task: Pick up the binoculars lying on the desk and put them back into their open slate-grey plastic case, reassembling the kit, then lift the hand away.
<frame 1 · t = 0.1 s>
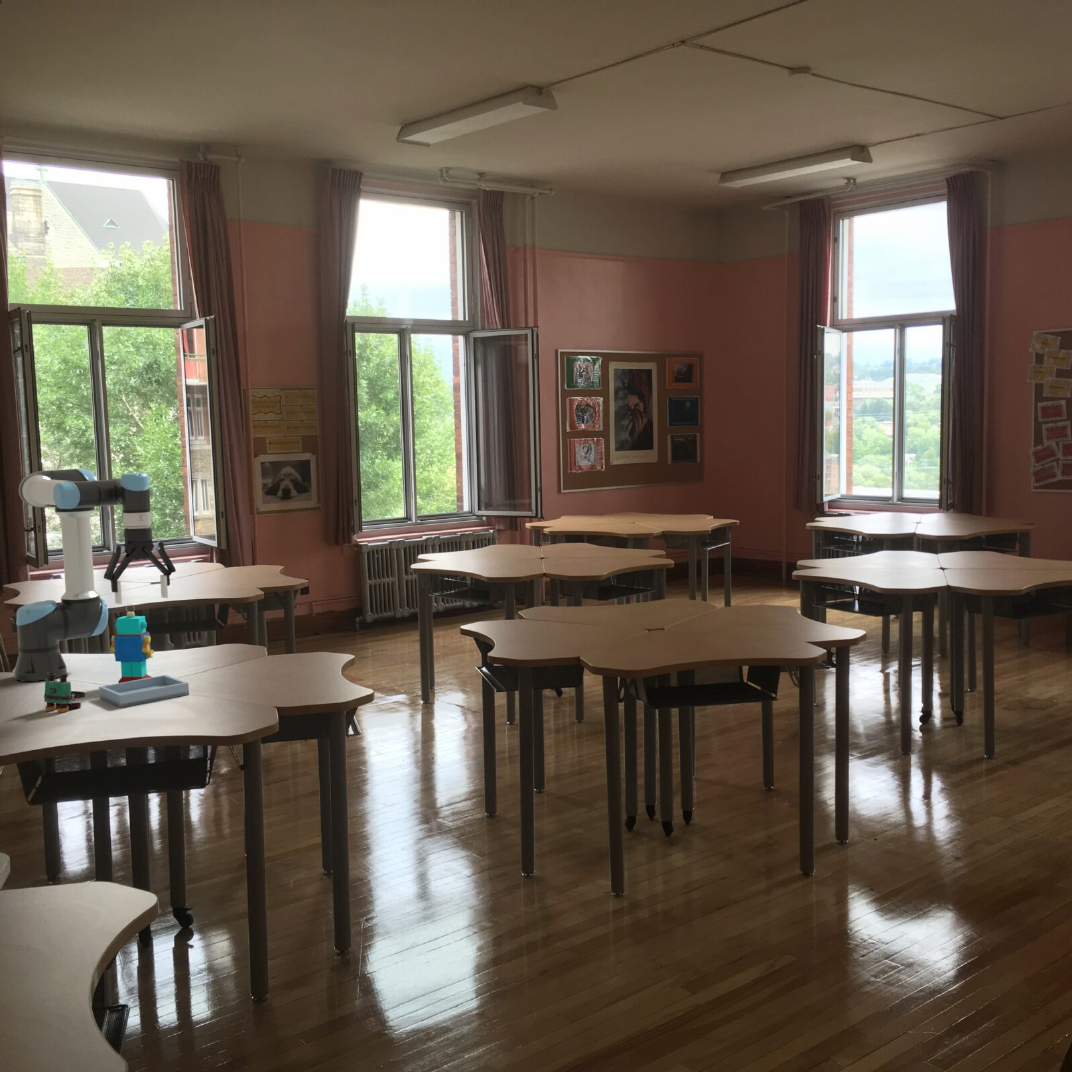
hand: (141, 600, 312), 28 cm above the table, tool pointing down, fingers open, 13 cm apart
binocular case: (144, 696, 314), on the table
toy robot: (135, 685, 328), on the table
binoculars: (65, 709, 303), on the table
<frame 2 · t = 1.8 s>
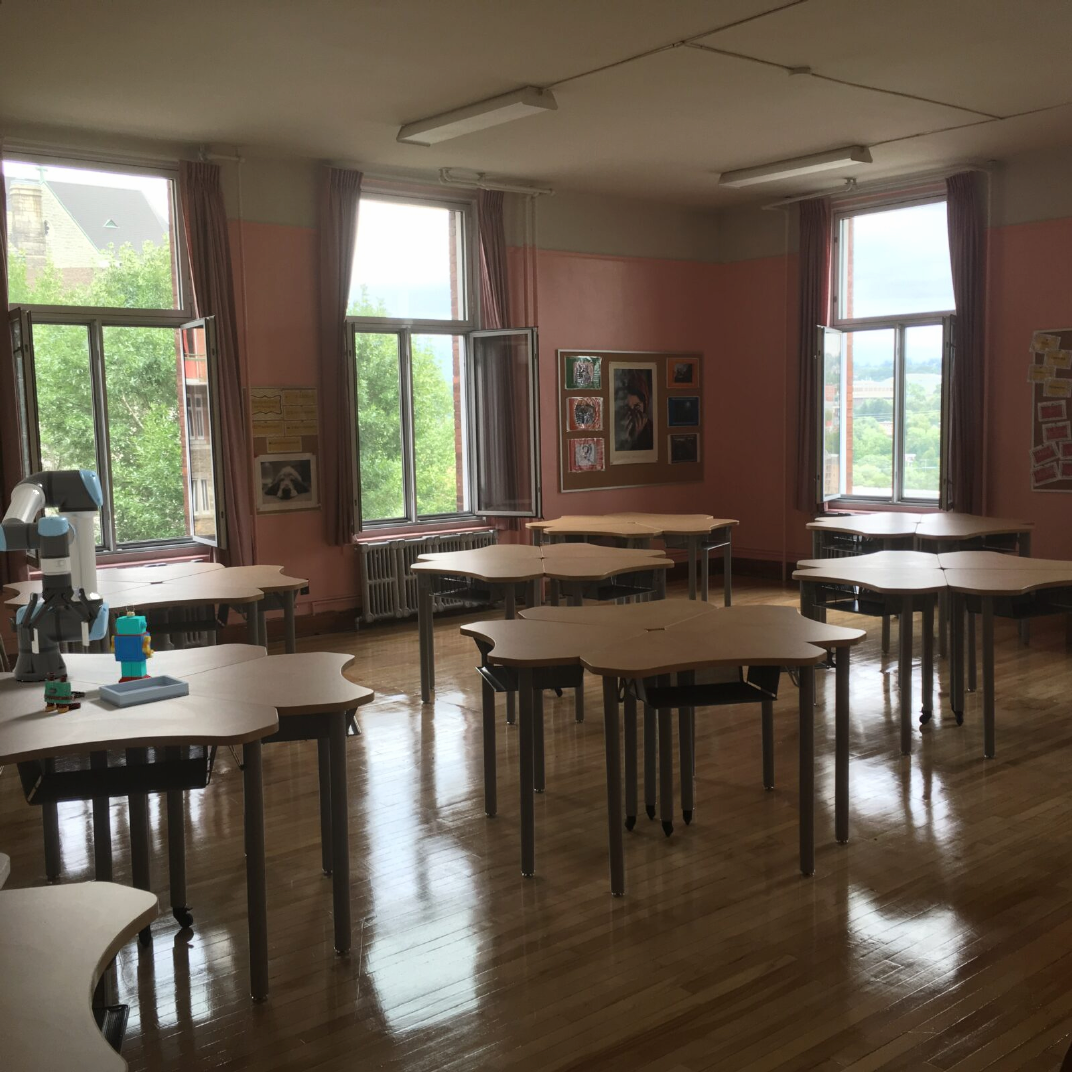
hand: (61, 649, 300), 17 cm above the table, tool pointing down, fingers open, 13 cm apart
nothing on the table moved.
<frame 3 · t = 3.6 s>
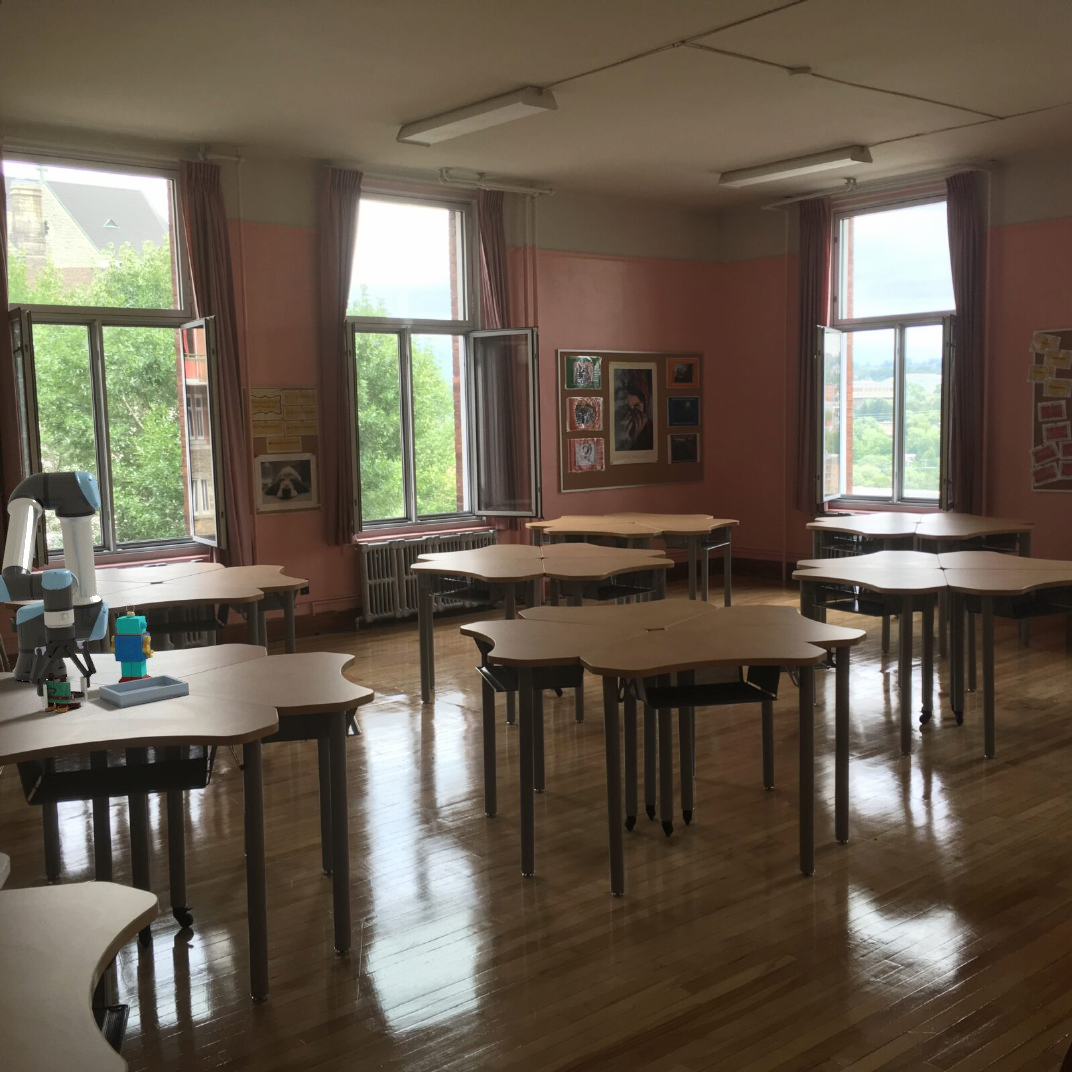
hand: (65, 703, 302), 1 cm above the table, tool pointing down, fingers closed on binoculars, 10 cm apart
binoculars: (65, 709, 302), on the table, touching gripper
everything else where it was.
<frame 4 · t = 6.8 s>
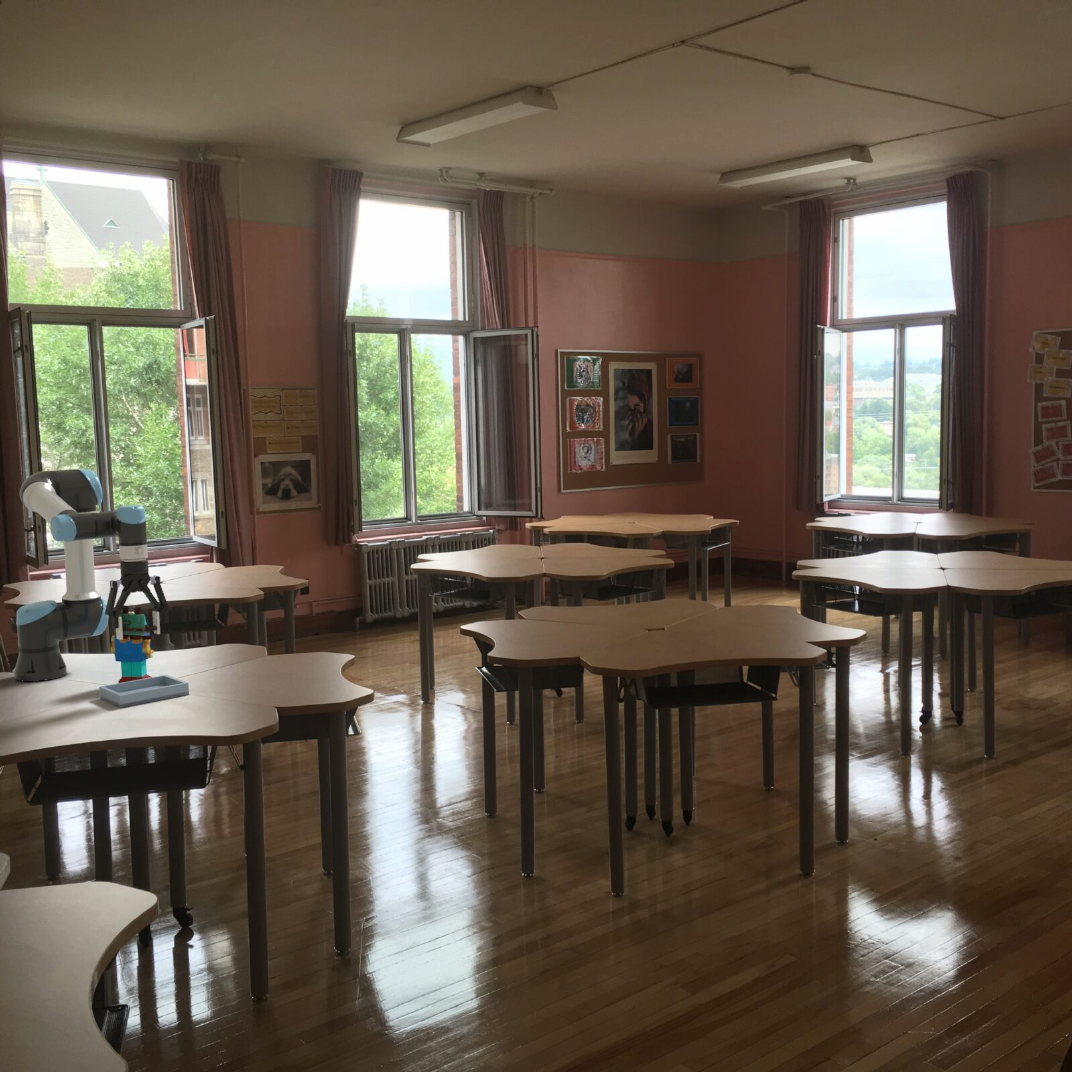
hand: (138, 636, 311), 18 cm above the table, tool pointing down, fingers closed on binoculars, 10 cm apart
binoculars: (138, 641, 312), point 16 cm above the table, touching gripper
everything else where it was.
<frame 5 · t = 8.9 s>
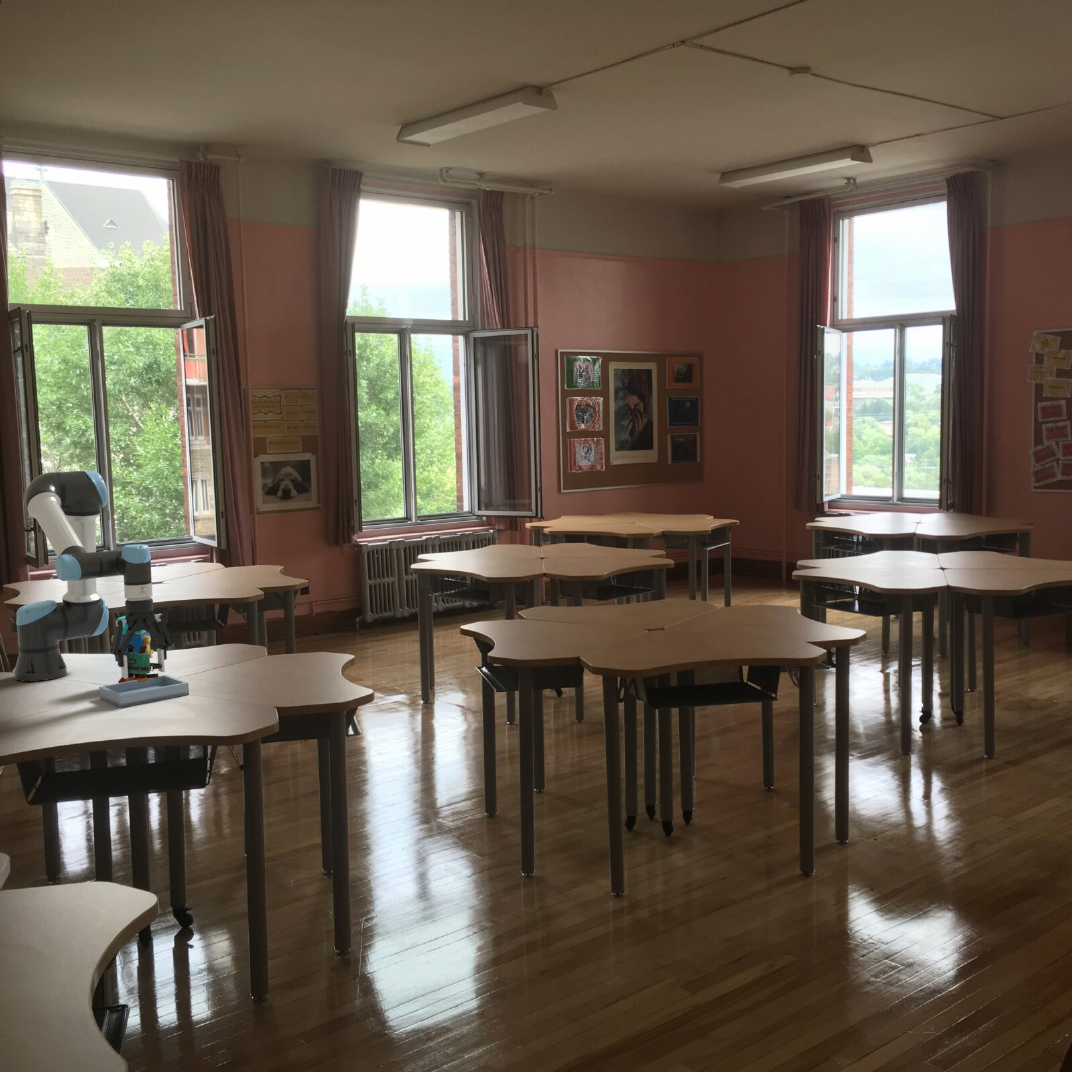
hand: (143, 674, 313), 7 cm above the table, tool pointing down, fingers closed on binoculars, 10 cm apart
binoculars: (143, 679, 313), point 5 cm above the table, touching gripper
everything else where it was.
when the fingers open (4 cm above the table, at t = 10.4 s): binoculars drops 2 cm, resting on binocular case.
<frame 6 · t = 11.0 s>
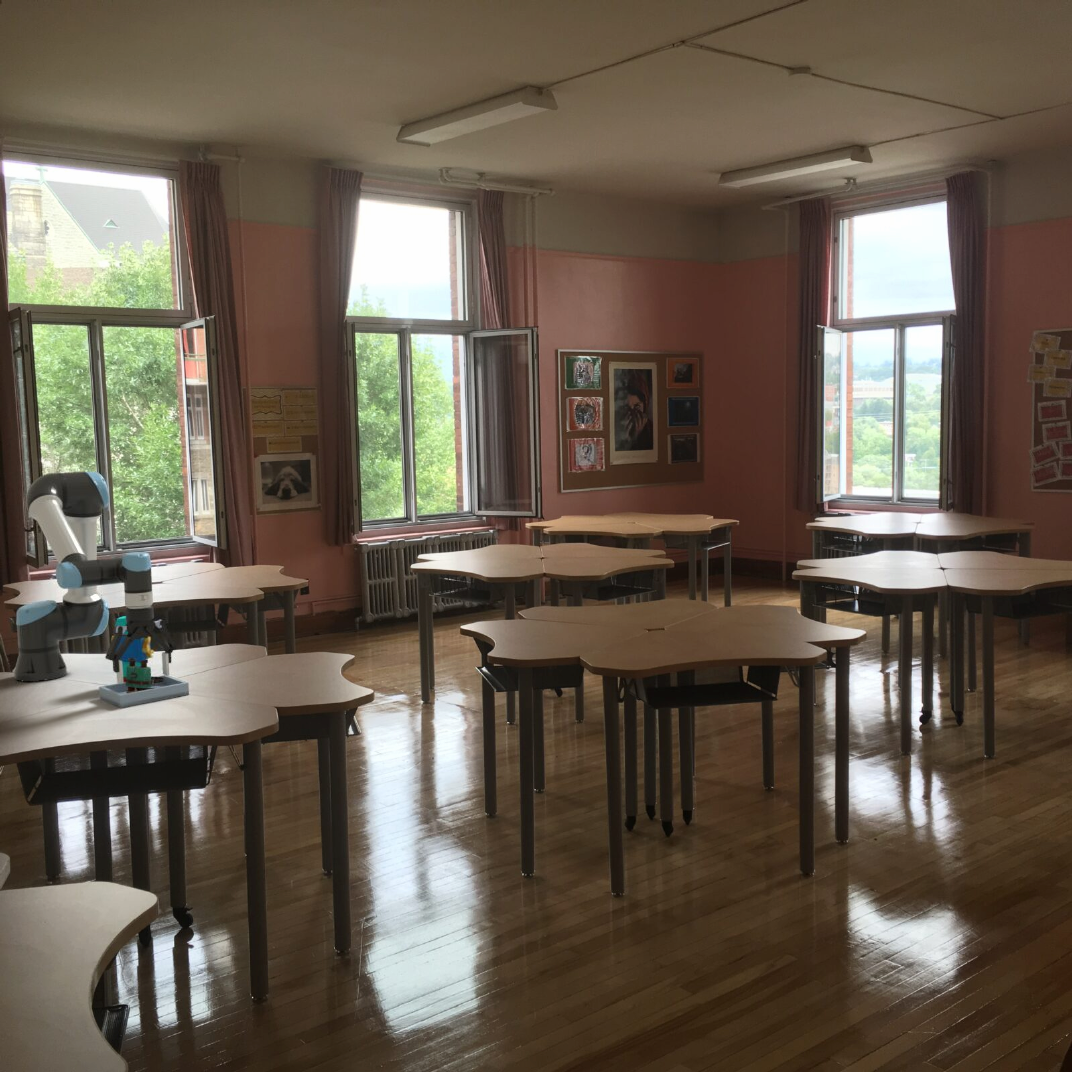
hand: (143, 679, 313), 5 cm above the table, tool pointing down, fingers open, 13 cm apart
binoculars: (145, 693, 314), point 1 cm above the table, touching binocular case
everything else where it was.
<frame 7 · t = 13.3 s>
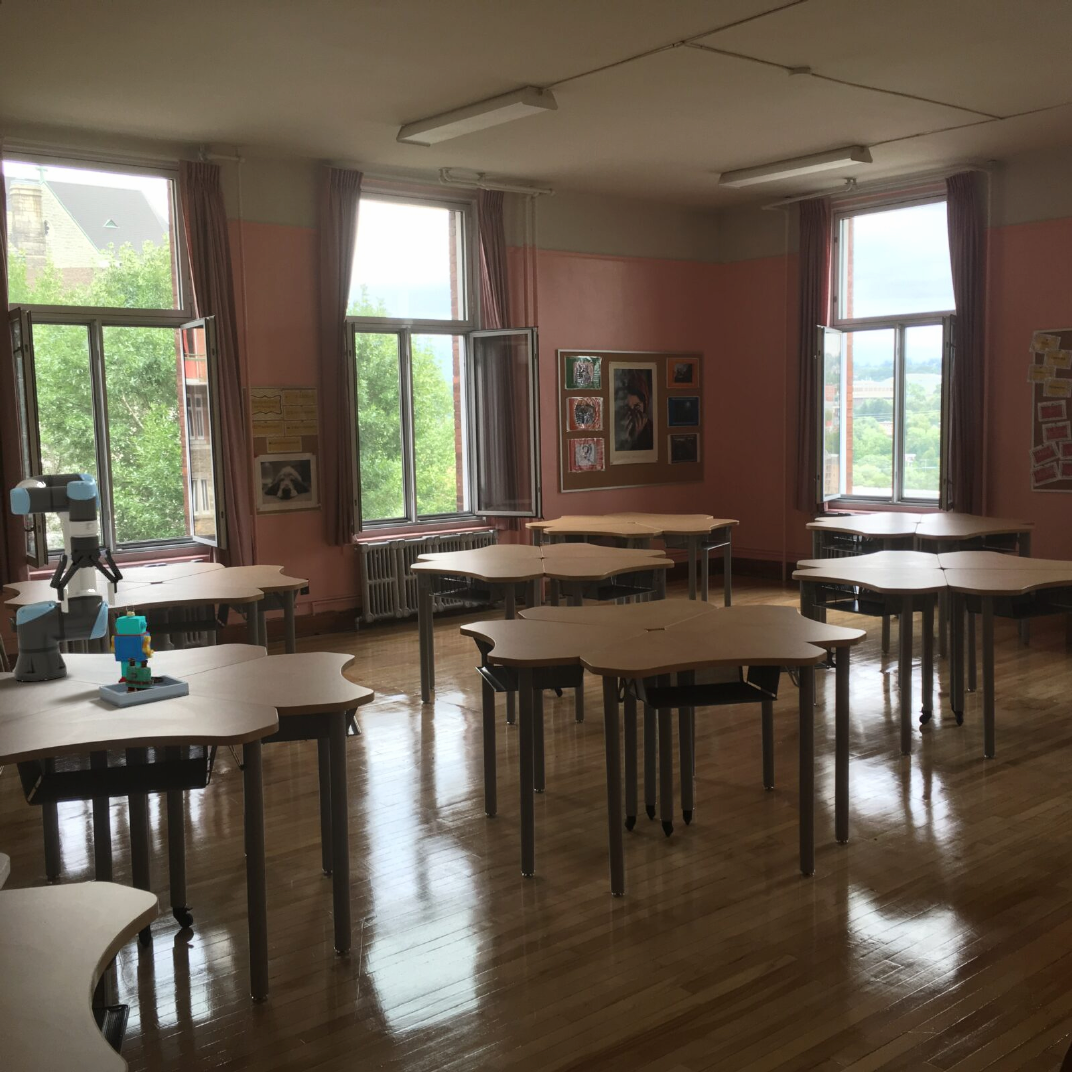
hand: (88, 608, 312), 26 cm above the table, tool pointing down, fingers open, 13 cm apart
nothing on the table moved.
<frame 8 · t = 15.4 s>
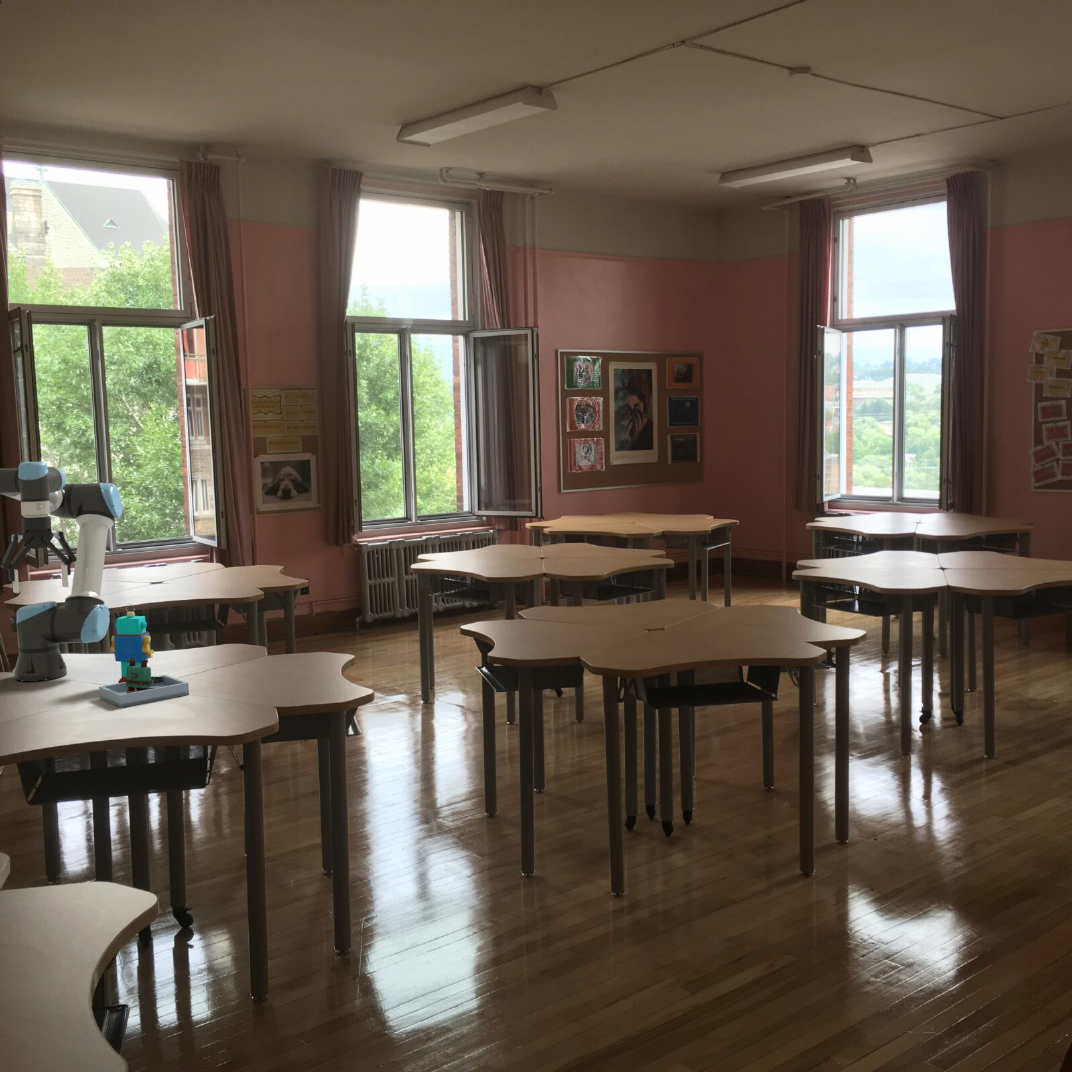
hand: (41, 589, 311), 32 cm above the table, tool pointing down, fingers open, 13 cm apart
nothing on the table moved.
at the end: binoculars inside the target area on the binocular case (0.3 cm from its centre), point 0.8 cm above the binocular case's base; binoculars tilted 2°; the gripper is holding nothing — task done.
